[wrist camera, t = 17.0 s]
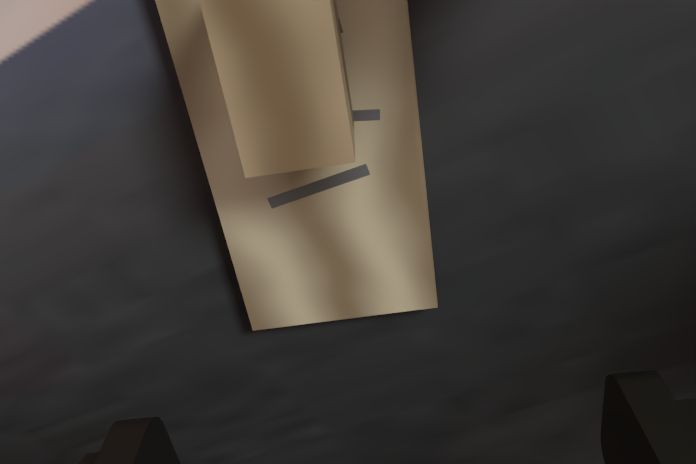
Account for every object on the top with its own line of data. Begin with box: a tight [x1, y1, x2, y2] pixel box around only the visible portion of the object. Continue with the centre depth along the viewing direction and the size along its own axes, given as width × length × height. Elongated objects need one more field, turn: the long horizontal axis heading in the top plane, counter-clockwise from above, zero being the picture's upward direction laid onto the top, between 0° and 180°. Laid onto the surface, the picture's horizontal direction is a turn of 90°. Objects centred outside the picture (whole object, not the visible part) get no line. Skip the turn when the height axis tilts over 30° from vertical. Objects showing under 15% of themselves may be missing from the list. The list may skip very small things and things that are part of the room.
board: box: [155, 0, 438, 331], centre depth 33 cm, size 12×25×2 cm, turn 9°
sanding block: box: [199, 0, 355, 178], centre depth 28 cm, size 5×8×6 cm, turn 9°
